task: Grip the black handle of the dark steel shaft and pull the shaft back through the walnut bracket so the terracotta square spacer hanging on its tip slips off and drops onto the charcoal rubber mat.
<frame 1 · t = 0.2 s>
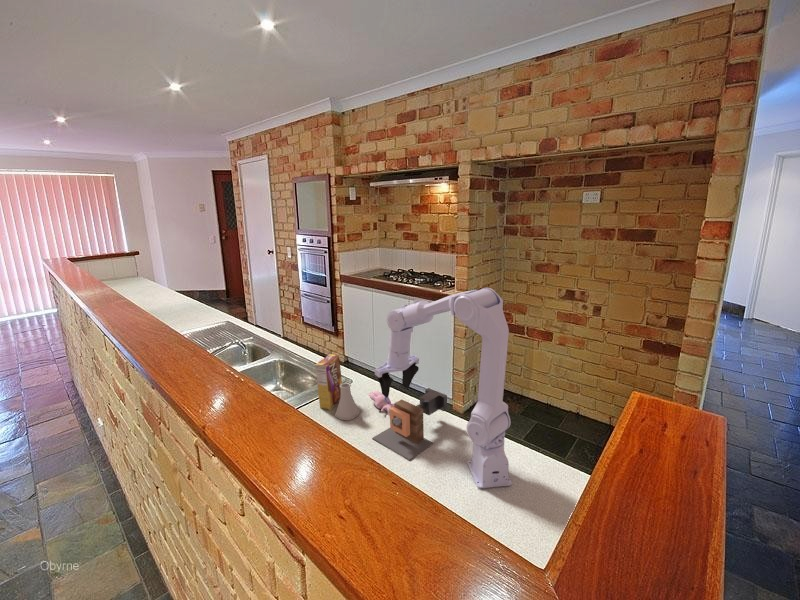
hand: (395, 391, 113), 10 cm above the table, tool pointing down, fingers open, 7 cm apart
flask: (347, 415, 121), on the table
bracket: (408, 421, 107), on the mat
mat: (409, 437, 108), on the table
pink toy animal: (384, 409, 124), on the table
candy box: (331, 403, 129), on the table
spacer: (400, 431, 105), point 3 cm above the table, touching shaft
shaft: (417, 410, 109), point 7 cm above the table, slide at 0.0 cm, touching spacer
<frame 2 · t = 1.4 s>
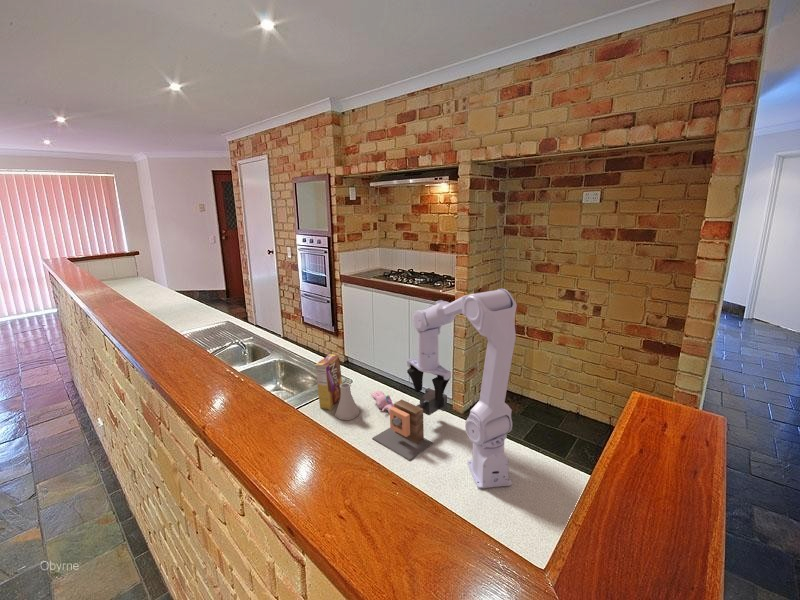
hand: (428, 395, 112), 9 cm above the table, tool pointing down, fingers open, 7 cm apart
nothing on the table moved.
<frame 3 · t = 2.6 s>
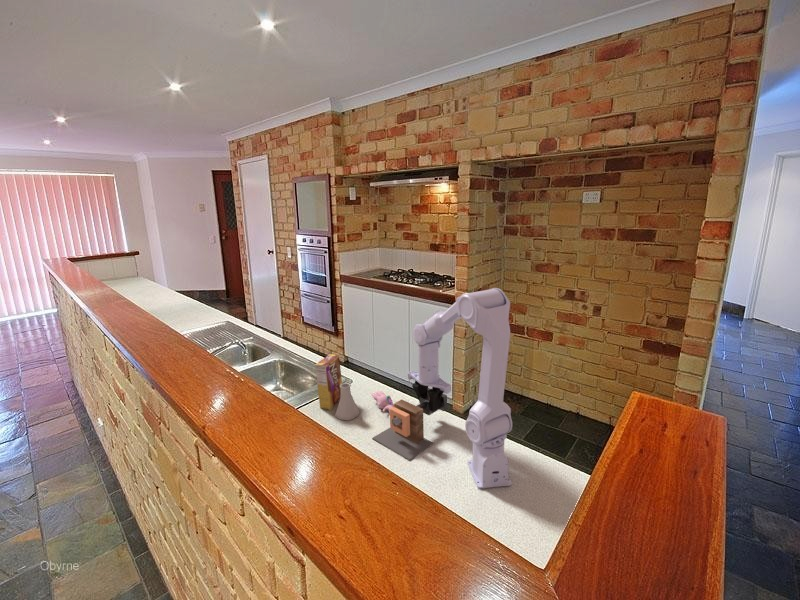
hand: (428, 407, 113), 5 cm above the table, tool pointing down, fingers closed on shaft, 3 cm apart
shaft: (417, 410, 109), point 7 cm above the table, slide at 0.0 cm, touching gripper, spacer
everything else where it was.
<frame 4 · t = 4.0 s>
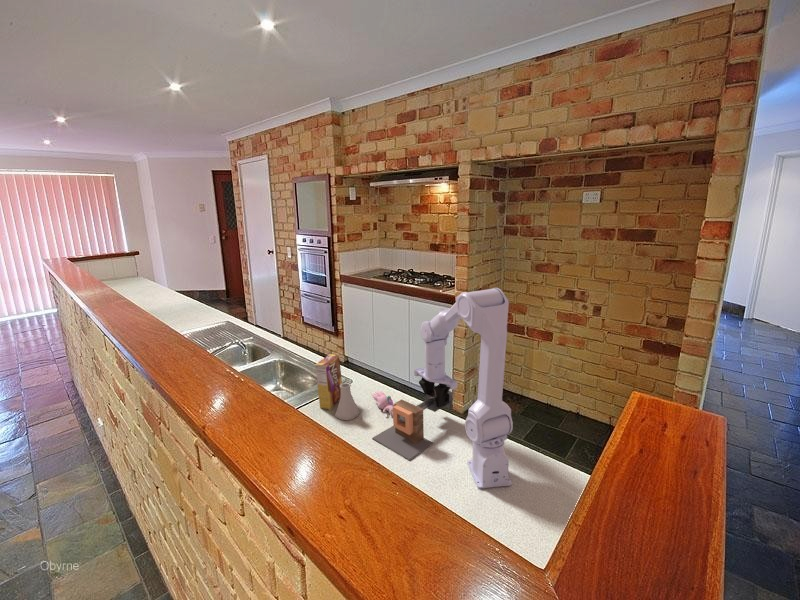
hand: (435, 404, 115), 5 cm above the table, tool pointing down, fingers closed on shaft, 3 cm apart
spacer: (403, 429, 106), point 3 cm above the table, touching shaft
shaft: (423, 406, 111), point 7 cm above the table, slide at 2.6 cm, touching gripper, spacer
everything else where it was.
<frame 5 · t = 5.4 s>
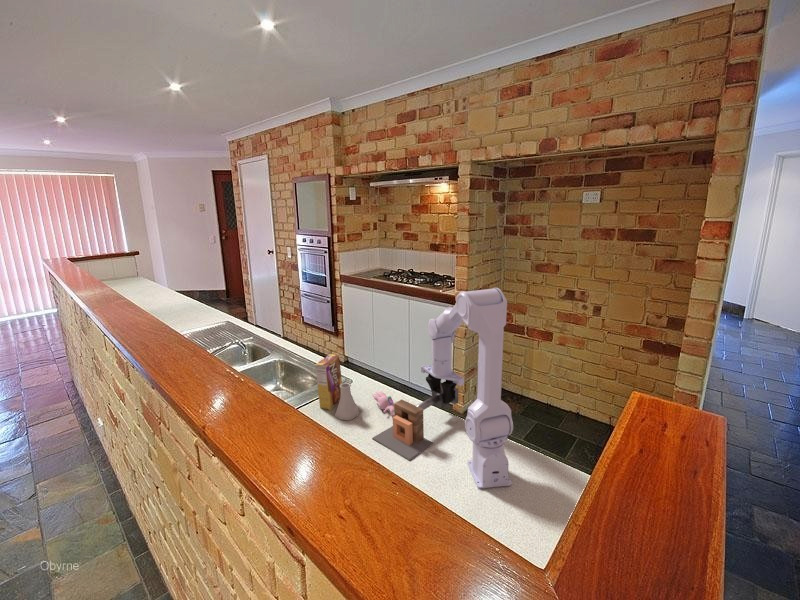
hand: (441, 400, 117), 5 cm above the table, tool pointing down, fingers closed on shaft, 3 cm apart
spacer: (403, 439, 107), resting on mat
shaft: (429, 403, 113), point 7 cm above the table, slide at 5.4 cm, touching gripper
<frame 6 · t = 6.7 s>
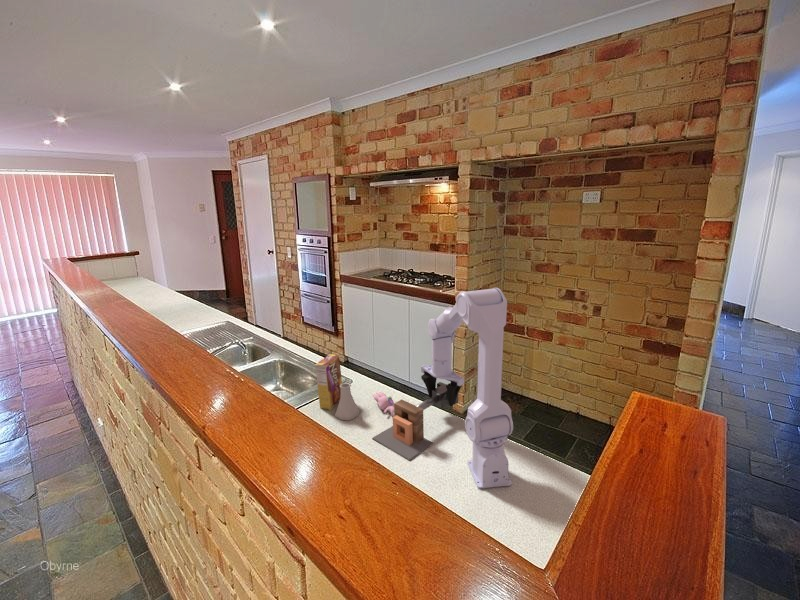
hand: (441, 400, 117), 5 cm above the table, tool pointing down, fingers open, 7 cm apart
shaft: (429, 403, 113), point 7 cm above the table, slide at 5.5 cm
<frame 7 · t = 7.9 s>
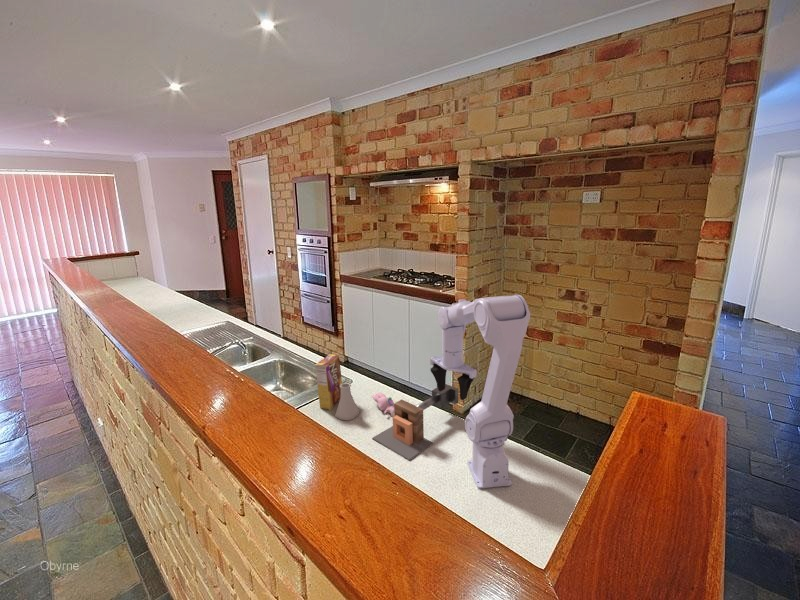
hand: (452, 394, 110), 10 cm above the table, tool pointing down, fingers open, 7 cm apart
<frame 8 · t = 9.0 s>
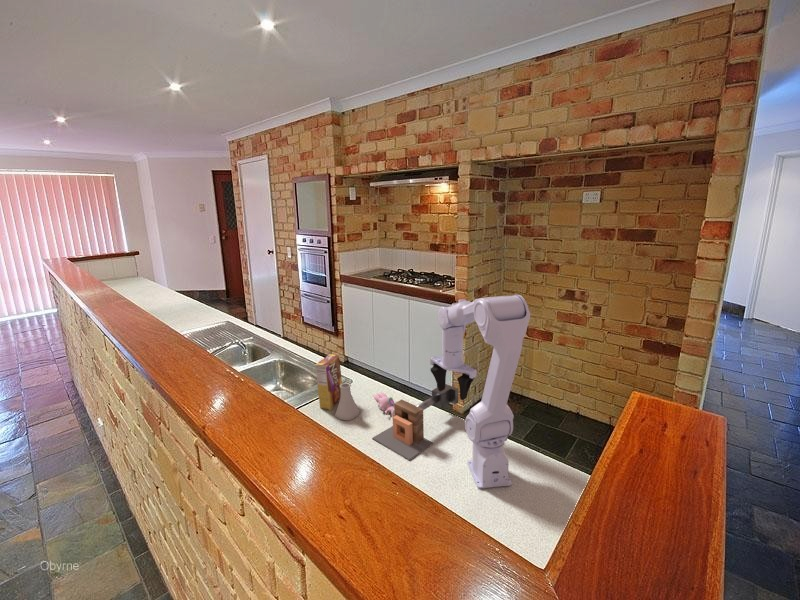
hand: (452, 394, 110), 10 cm above the table, tool pointing down, fingers open, 7 cm apart
at the end: shaft slide at 5.5 cm; spacer resting on mat; spacer 2.5 cm from the bracket (horizontally) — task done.
